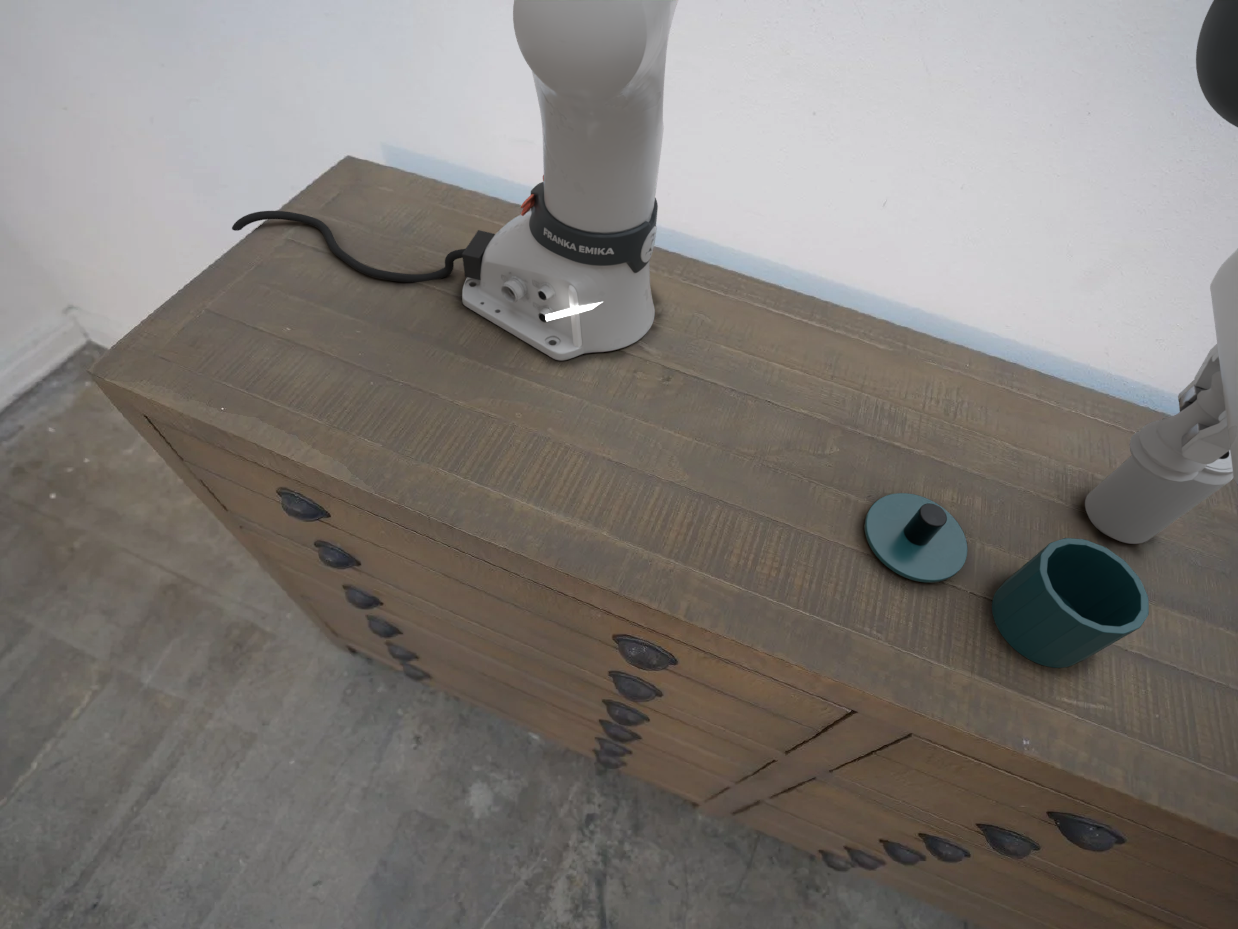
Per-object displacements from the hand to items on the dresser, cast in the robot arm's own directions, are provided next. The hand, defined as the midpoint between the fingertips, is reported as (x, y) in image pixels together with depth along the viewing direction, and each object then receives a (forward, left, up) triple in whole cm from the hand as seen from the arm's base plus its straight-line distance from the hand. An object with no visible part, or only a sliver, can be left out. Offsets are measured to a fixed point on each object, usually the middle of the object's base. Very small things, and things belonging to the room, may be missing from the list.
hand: (1190, 431), depth 44 cm
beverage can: (+8, +12, -22) cm, 26 cm away
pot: (+2, -3, -22) cm, 22 cm away
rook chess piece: (0, 0, -3) cm, 3 cm away
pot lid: (-9, 0, -21) cm, 23 cm away
